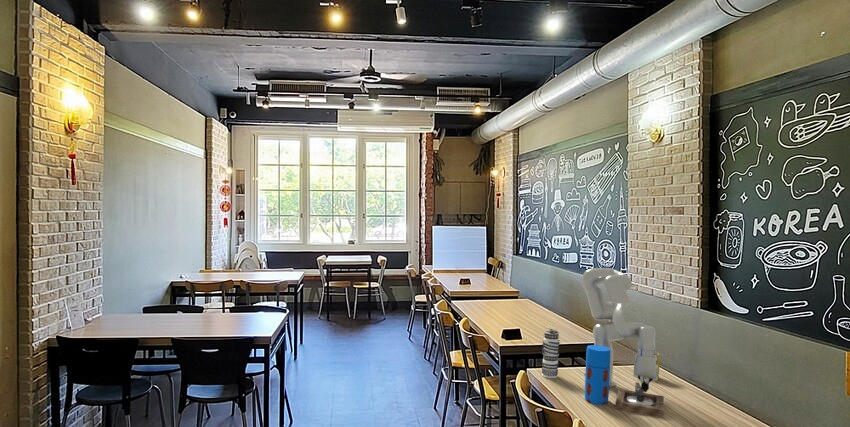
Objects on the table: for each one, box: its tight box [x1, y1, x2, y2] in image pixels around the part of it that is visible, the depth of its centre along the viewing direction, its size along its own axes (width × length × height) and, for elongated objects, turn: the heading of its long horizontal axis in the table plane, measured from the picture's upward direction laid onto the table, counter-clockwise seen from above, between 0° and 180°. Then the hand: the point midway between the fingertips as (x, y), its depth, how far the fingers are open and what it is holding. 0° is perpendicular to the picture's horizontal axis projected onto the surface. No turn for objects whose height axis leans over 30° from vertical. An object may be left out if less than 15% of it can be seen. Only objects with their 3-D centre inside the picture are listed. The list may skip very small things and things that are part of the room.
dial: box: [627, 381, 654, 406], centre depth 253 cm, size 16×12×6 cm
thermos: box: [584, 344, 611, 406], centre depth 255 cm, size 11×11×25 cm
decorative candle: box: [541, 328, 561, 379], centre depth 291 cm, size 9×9×25 cm
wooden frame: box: [614, 388, 665, 418], centre depth 251 cm, size 20×20×3 cm
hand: (644, 390), depth 256 cm, fingers closed
